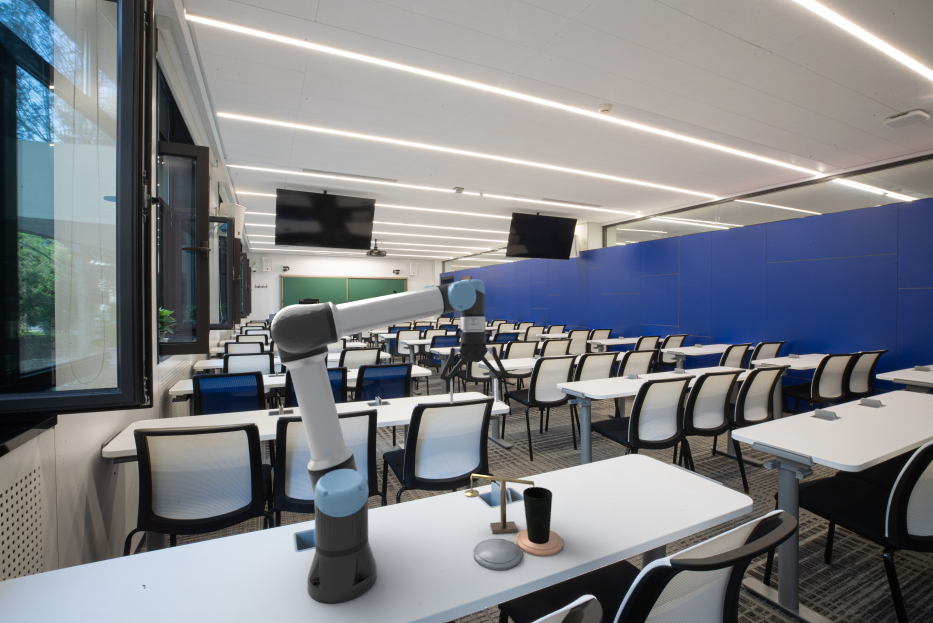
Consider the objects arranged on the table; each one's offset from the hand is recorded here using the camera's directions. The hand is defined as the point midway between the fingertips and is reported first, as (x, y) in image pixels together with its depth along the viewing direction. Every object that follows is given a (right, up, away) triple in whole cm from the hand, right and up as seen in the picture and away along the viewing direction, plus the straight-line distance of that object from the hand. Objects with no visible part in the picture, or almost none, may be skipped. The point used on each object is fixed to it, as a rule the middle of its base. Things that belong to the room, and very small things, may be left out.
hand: (474, 402), depth 120 cm
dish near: (+6, -34, -19) cm, 40 cm away
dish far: (+17, -34, -14) cm, 41 cm away
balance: (+8, -35, -7) cm, 36 cm away
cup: (+17, -33, -14) cm, 40 cm away
